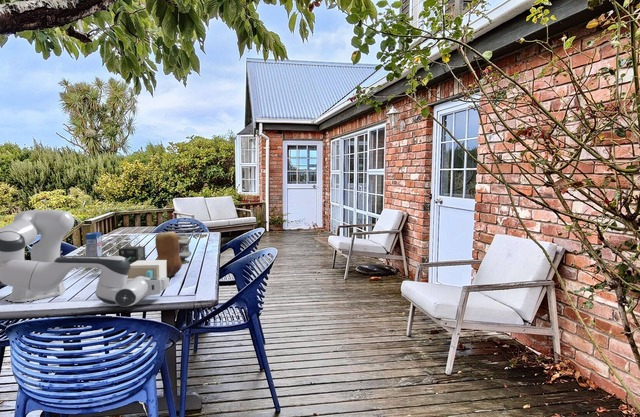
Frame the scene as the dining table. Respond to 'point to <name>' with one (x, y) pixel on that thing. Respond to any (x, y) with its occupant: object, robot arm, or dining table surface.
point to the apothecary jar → (184, 248)
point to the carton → (153, 263)
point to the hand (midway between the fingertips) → (150, 279)
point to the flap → (143, 272)
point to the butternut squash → (169, 251)
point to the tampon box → (133, 253)
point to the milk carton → (93, 244)
